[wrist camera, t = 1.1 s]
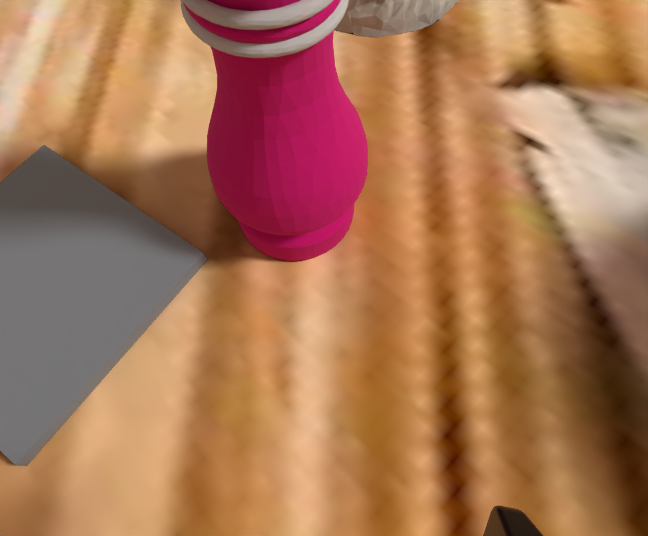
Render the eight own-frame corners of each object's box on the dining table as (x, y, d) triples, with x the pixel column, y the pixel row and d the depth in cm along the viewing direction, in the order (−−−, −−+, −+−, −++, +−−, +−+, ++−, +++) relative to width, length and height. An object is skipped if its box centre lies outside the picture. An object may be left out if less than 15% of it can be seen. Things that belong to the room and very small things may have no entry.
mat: (26, 465, 20) (15, 465, 19) (-132, 315, 23) (-148, 310, 22) (207, 259, 24) (203, 252, 23) (51, 153, 27) (43, 144, 26)
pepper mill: (207, 191, 26) (-101, -497, 8) (318, 136, 27) (288, -556, 9) (269, 295, 23) (29, -368, 5) (388, 228, 25) (548, -480, 6)
